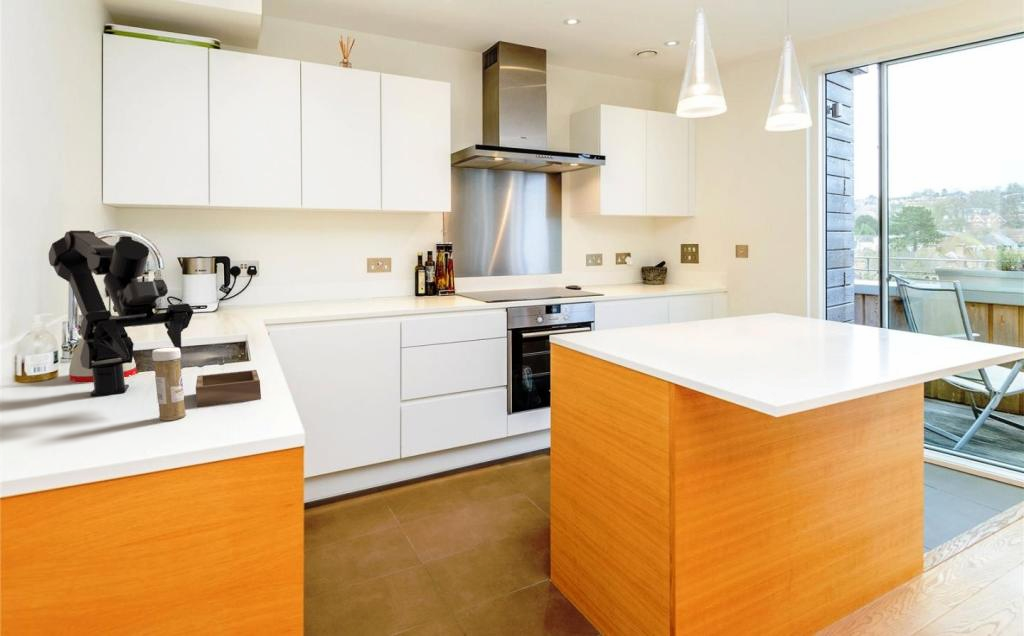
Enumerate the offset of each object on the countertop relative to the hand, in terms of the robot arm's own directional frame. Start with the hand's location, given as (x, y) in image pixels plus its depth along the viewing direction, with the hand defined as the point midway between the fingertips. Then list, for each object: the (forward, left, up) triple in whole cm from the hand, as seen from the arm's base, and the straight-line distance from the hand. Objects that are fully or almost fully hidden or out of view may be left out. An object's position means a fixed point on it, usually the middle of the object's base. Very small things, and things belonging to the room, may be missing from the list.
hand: (154, 353), depth 112 cm
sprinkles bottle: (+5, +2, -12) cm, 13 cm away
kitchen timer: (-45, -16, -12) cm, 49 cm away
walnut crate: (-7, +12, -12) cm, 19 cm away
